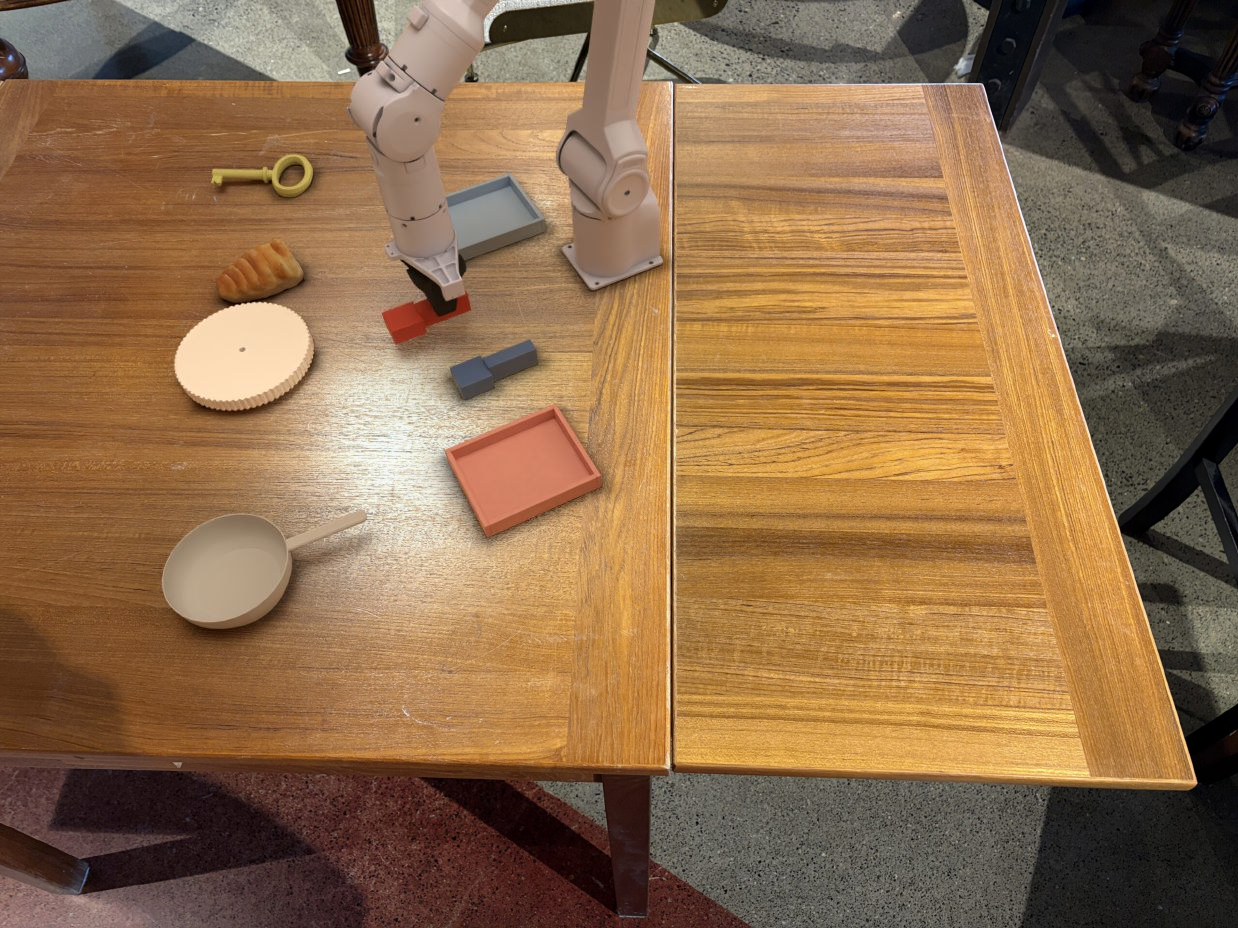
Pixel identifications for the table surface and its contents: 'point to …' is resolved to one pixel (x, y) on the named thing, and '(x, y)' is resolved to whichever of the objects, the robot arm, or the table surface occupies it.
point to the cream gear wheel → (244, 356)
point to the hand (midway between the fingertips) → (442, 305)
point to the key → (270, 175)
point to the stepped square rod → (492, 368)
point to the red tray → (522, 469)
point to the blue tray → (492, 216)
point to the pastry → (260, 273)
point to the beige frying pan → (236, 568)
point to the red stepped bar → (418, 318)
